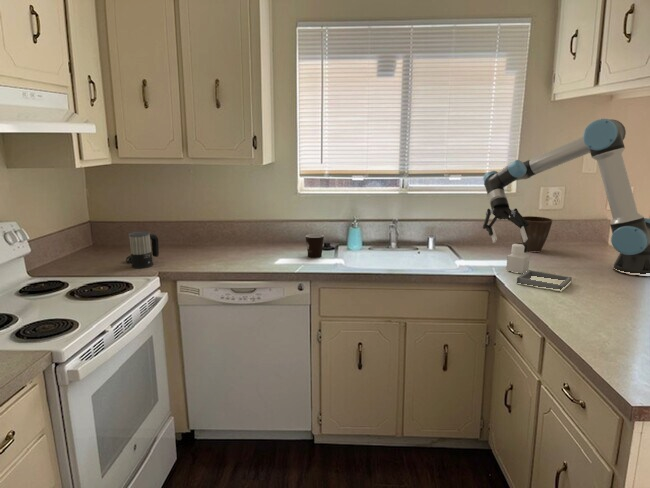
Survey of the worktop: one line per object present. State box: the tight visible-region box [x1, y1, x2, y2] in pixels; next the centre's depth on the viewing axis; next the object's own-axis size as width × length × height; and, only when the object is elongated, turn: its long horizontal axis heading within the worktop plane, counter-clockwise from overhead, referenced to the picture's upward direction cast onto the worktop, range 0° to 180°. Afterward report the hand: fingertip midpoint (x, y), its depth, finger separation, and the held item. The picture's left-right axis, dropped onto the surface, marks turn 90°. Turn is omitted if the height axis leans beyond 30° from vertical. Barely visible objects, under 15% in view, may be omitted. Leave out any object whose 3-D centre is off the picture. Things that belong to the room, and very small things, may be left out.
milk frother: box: [125, 231, 160, 269], centre depth 218 cm, size 14×16×15 cm
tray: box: [516, 269, 573, 290], centre depth 188 cm, size 16×14×2 cm
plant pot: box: [519, 215, 553, 252], centre depth 240 cm, size 15×15×16 cm
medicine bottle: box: [505, 242, 531, 274], centre depth 204 cm, size 7×7×12 cm
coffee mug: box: [305, 233, 325, 259], centre depth 232 cm, size 12×9×10 cm
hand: (510, 241), depth 210 cm, fingers open, 13 cm apart
